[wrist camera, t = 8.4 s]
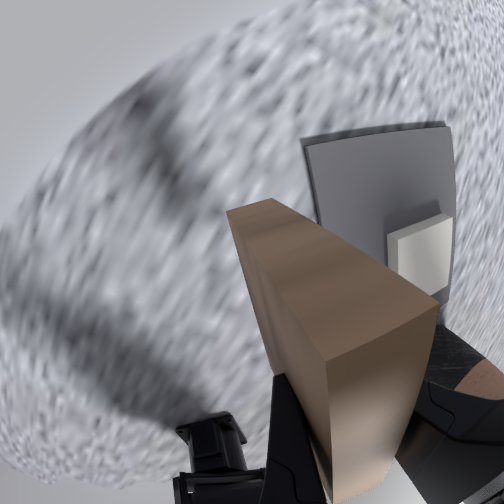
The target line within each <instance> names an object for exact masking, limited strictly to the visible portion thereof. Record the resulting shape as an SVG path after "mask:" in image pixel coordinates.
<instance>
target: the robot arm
mask: <svg viewBox="0 0 504 504" xmlns="http://www.w3.org/2000/svg"><path fill="white" fill-rule="evenodd" d="M176 433H177V434H178V435H179V436H180V437H181V438H182V439H183V440H184V442H185V443H186V444H187V445H188V446H189V455H190V464H191V472H192V473H185V472H179V473H180V476H178V477H175V478H173V488H174V497H175V504H328V503H327V499H326V496H325V492H324V489H323V485H322V481H321V478H320V474H319V471H318V467H317V463H316V460H315V456H314V453H313V449H312V446H311V442H310V438H309V435H308V431H307V428H306V424H305V421H304V417H303V414H302V410H301V406H300V403H299V400H298V398H297V396H296V394H295V392H294V390H293V388H292V386H291V384H290V382H289V381H288V379H287V377H286V375H285V373H280V374H277V375H275V376H273V385H272V400H271V414H270V428H269V440H268V452H267V462H266V468H260V469H255V470H248V469H247V466H246V462H245V458H244V455H243V451H242V447H241V445H243V444H246V443H247V439H246V437H245V436H244V434H243V433H242V431H241V429H240V428H239V426H238V424H237V422H236V421H235V419H234V417H233V416H232V415H227V416H223V417H219V418H215V419H211V420H207V421H203V422H199V423H194V424H190V425H185V426H180V427H177V428H176ZM394 457H395V458H396V460H397V461H398V462H399V464H400V465H401V467H402V468H403V469H404V471H405V472H406V474H407V475H408V477H409V478H410V480H411V481H412V482H413V484H414V486H415V487H416V488H417V490H418V491H419V493H420V494H421V495H422V497H423V498H424V500H425V501H426V503H427V504H459V503H461V502H462V501H463V502H464V504H504V399H497V400H494V399H487V398H482V397H478V396H474V395H470V394H466V393H462V392H458V391H455V390H451V389H448V388H446V387H443V386H440V385H437V384H435V383H432V382H430V381H427V380H425V379H423V382H422V385H421V388H420V391H419V395H418V398H417V401H416V404H415V407H414V409H413V412H412V415H411V418H410V420H409V423H408V426H407V428H406V431H405V433H404V436H403V438H402V441H401V443H400V445H399V448H398V450H397V452H396V454H395V456H394ZM188 492H193V493H188Z"/></svg>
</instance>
